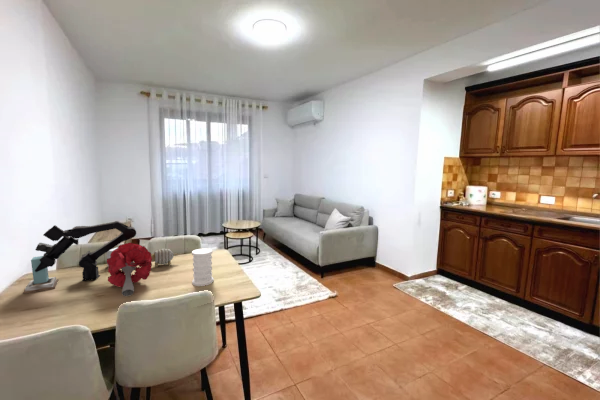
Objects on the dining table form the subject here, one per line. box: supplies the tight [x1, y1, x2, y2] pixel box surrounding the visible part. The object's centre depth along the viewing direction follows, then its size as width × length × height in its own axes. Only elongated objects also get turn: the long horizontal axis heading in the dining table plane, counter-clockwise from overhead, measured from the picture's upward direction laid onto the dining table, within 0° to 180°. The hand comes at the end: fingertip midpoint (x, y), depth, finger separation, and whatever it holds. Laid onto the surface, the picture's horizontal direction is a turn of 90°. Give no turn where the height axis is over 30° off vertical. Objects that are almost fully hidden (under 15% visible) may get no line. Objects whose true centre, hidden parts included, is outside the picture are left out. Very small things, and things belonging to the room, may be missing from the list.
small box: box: [106, 246, 119, 267], centre depth 181 cm, size 8×6×10 cm
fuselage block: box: [30, 255, 50, 284], centre depth 146 cm, size 5×5×13 cm
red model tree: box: [106, 242, 153, 297], centre depth 148 cm, size 22×24×30 cm
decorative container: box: [191, 247, 215, 287], centre depth 157 cm, size 12×12×18 cm
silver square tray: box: [22, 276, 59, 295], centre depth 147 cm, size 12×12×3 cm
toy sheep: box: [151, 248, 179, 268], centre depth 182 cm, size 11×17×11 cm, turn 127°
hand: (36, 269), depth 146 cm, fingers closed on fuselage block, 5 cm apart
